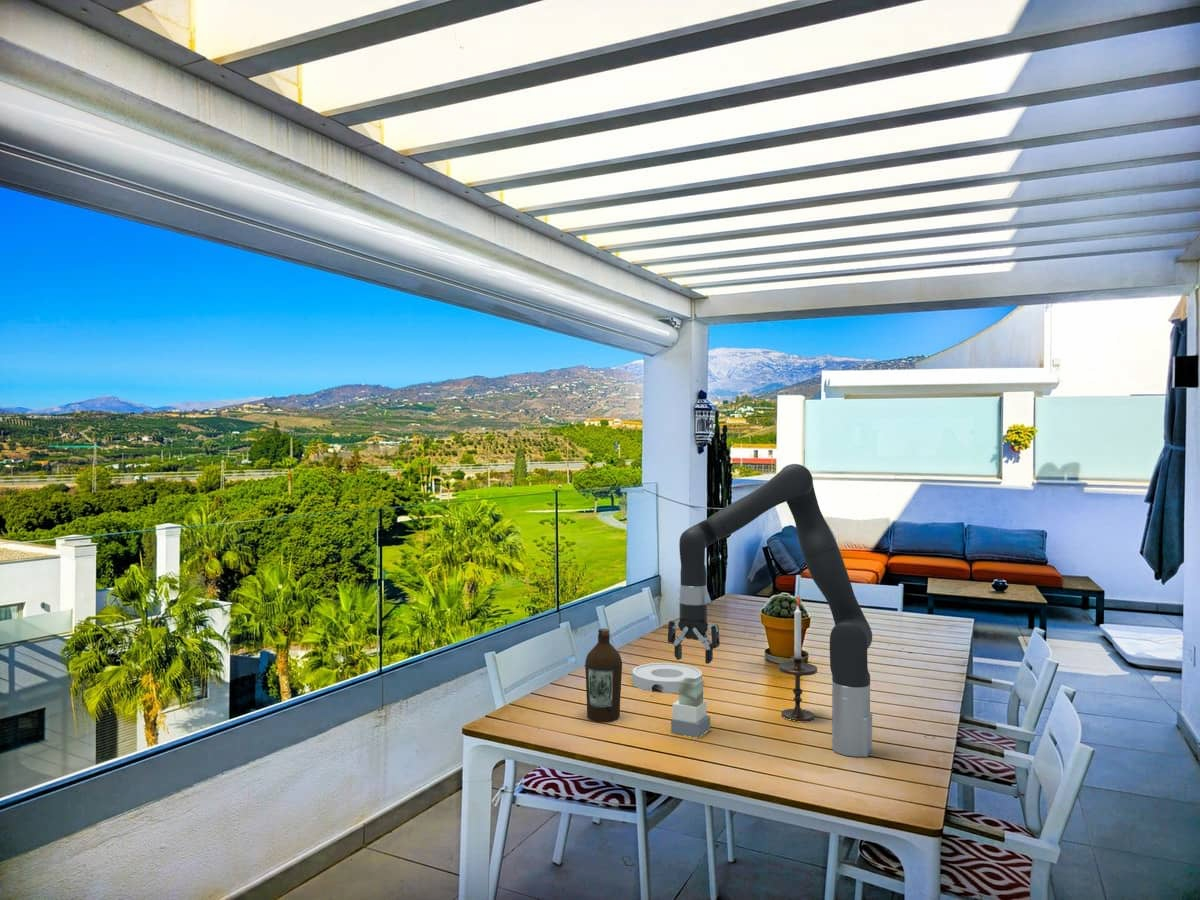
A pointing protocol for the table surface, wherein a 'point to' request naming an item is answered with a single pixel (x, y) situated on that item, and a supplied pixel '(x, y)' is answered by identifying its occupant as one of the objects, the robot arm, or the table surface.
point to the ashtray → (663, 676)
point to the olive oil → (603, 680)
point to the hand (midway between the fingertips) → (693, 661)
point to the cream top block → (689, 712)
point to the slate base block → (690, 727)
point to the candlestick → (797, 672)
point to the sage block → (691, 692)
